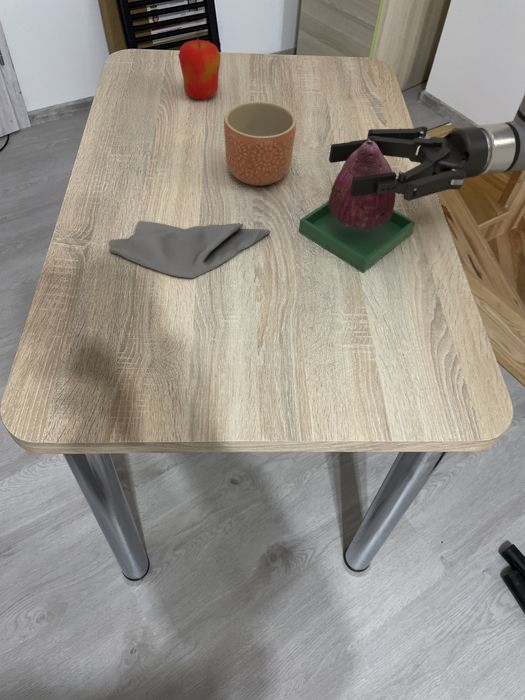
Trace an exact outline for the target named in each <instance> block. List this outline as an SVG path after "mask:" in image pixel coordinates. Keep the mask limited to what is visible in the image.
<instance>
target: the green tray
mask: <svg viewBox="0 0 525 700" xmlns="http://www.w3.org/2000/svg"><path fill="white" fill-rule="evenodd" d="M328 201H329V200H327V201H326V202H325V203H322V204H321V205H320V206H318V207H317V208H315V209H314V210H312V211H311V212H308V213H307V214H306V215H305V216H303V217H301V218H300V219H299V227H298V233H300V234H302V235H303V236H305V237H306V238H307V239H309V240H311V241H312V242H314V243H315V244H317V245H319V246H320V247H322V248H324V249H325V250H327V251H328V252H330V253H332V254H333V255H334V256H336V257H338V258H339V259H341V260H342V261H344V262H346V263H347V264H349V265H350V266H352V267H353V268H355V269H356V270H358V271H359V272H361V273H365V272H366V271H367V270H369V269H370V268H371V267H373V266H374V265H375V264H377V263H378V262H379V261H380V260H382V259H383V258H384V257H385V256H386V255H387V254H390V252H391V251H393V250H394V249H395V248H396V247H398V246H399V245H400V244H401V243H403V242H404V241H405V240H407V239H408V238H409V237H410V236H412V234H413V232H414V230H415V226H416V223H417V221H415V220H413V219H411V218H410V217H409V216H406V215H404V214H403V213H401V212H399V211H397V210H396V209H395V208H394V209H393V212H392V216H391V218H390V220H389V221H388V222H386V223H384V224H382V225H380V226H377V227H375V228H354V227H350V226H346V225H345V224H343V223H341V222H340V221H339V220H338V219H337V218H336V217H335V216H334V215H333V214H332V213H331V211H330V210H329V208H328Z"/></svg>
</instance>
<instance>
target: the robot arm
mask: <svg viewBox="0 0 525 700" xmlns="http://www.w3.org/2000/svg"><path fill="white" fill-rule="evenodd" d="M428 129H429V128H428V127H427V126H423V125H422V126H418V127H413V128H371V129H370V128H369V129H368V132H367V137H366V138H365V139H358V140H351V141H349V142H339V143H332V144H330V150H329V156H328V161H329V163H330V164H334V163H340V162H346V160H347V159H348V158H349V156H350V155H351V154H352V153H353V152H355V151H356V150H357V149H358V148H360V147H361V145H362V144H363V143H365V142H366V141H367V140H368V139H369V140H370V141H374V142H375V143H376V144H377V145H378V147H379V149H380V151H381V153H382V155H383V156H384V157H391V158H392V157H393V158H400V159H408V160H409V162H411V163H419V164H418V165H416V166H414V167H413V168H410V169H408V170H406V171H404V172H403V171H401V170H400V171H399V173H398V176H397V173H396V172H395V171H392V172H390V173H383V174H376V175H369V176H361V177H354V178H353V180H352V185H351V190H350V195H351V197H353V196H360V195H367V194H374V193H376V194H385V193H392V192H395V193H396V194H397V195H402V197H403V198H402V199H403V200H404V201H406V202H410V201H414V200H417V199H421V198H424V197H427V196H430V195H431V196H432V195H434V194H436V193H440V192H444V191H448V190H449V191H450V190H460V189H461V188H462V186H463V183H464V181H465V179H469V178H475V177H481V176H487V175H494V174H502V173H510V172H516V171H517V172H518V171H525V93H524V95H523V97H522V99H521V103H520V104H519V106H518V109H517V111H516V113H515V116H514V118H513V120H511V121H505V122H498V123H497V122H496V123H489V124H480V125H477V126H467V127H459V128H458V127H457V128H454V129H452V130H451V131H450V132H448V133H447V134H446V135H445V136H430V134H428V133H427V132H428Z"/></svg>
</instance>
